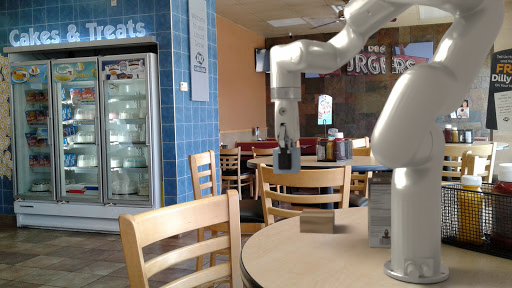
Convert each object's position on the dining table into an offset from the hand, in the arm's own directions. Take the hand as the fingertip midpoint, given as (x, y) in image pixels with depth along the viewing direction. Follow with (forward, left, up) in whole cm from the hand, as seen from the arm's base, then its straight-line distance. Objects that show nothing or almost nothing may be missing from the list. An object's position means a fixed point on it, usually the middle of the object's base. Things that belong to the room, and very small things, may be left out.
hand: (287, 167), depth 113 cm
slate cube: (0, 0, -1) cm, 1 cm away
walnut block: (+16, -6, -20) cm, 26 cm away
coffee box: (+5, -23, -20) cm, 31 cm away
